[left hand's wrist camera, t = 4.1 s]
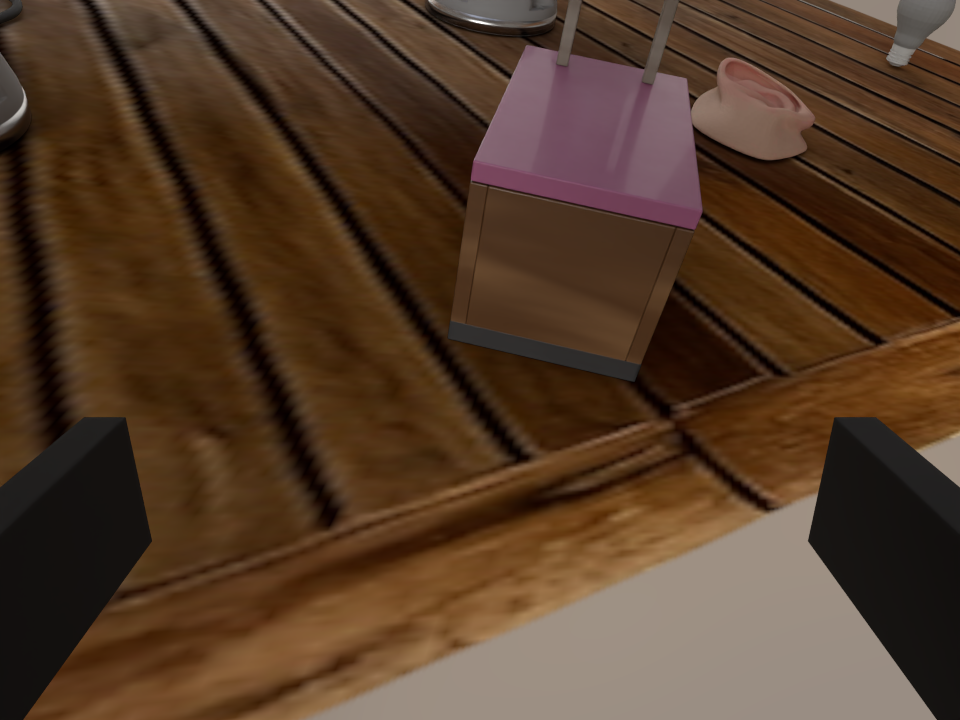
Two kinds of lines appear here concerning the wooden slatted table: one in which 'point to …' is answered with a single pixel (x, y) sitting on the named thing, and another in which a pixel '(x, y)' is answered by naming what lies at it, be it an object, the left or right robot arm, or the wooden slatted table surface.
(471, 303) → the chest
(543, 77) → the lid
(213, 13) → the wooden slatted table surface
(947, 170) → the wooden slatted table surface
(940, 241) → the wooden slatted table surface
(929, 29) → the light bulb
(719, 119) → the anatomical model
